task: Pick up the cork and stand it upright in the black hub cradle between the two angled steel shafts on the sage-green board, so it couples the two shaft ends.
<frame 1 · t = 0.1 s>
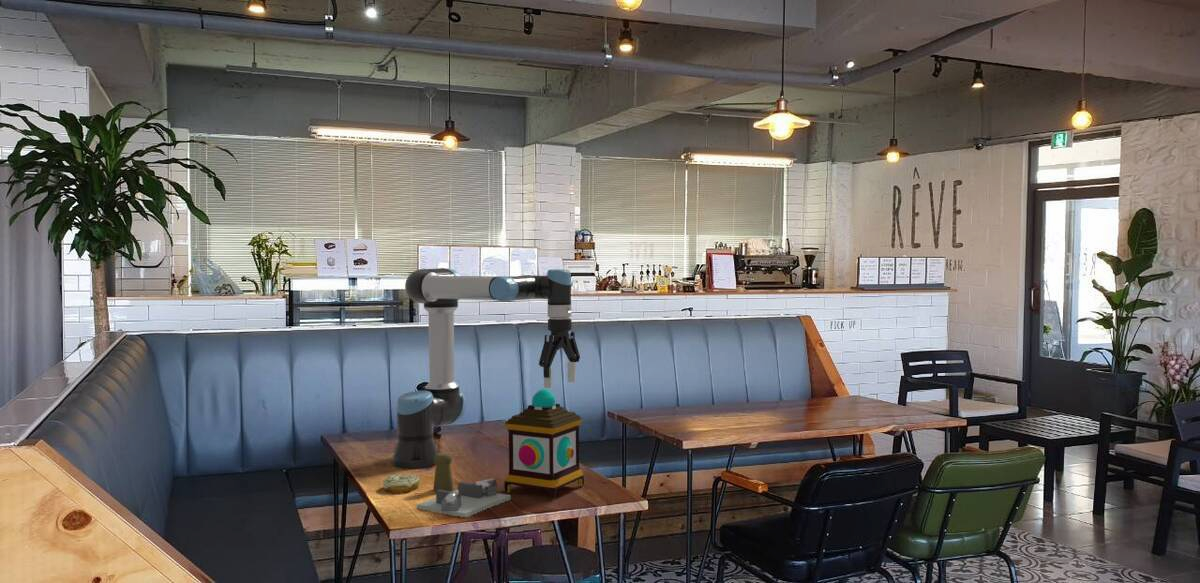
hand: (560, 385, 280), 28 cm above the table, tool pointing down, fingers open, 13 cm apart
shaft a: (485, 498, 252), resting on rig
cork: (443, 490, 262), on the table
shaft b: (451, 512, 239), resting on rig
decorative lantern: (544, 490, 261), on the table
rig: (464, 504, 247), on the table
decorated donut: (401, 489, 264), on the table
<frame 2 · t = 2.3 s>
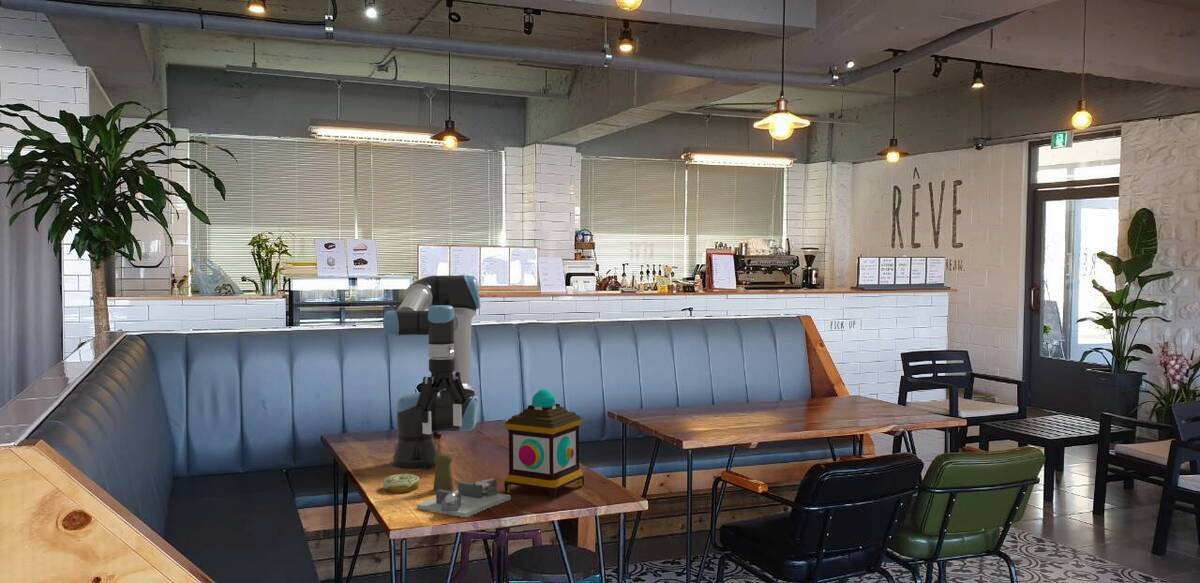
hand: (442, 429, 261), 18 cm above the table, tool pointing down, fingers open, 13 cm apart
nothing on the table moved.
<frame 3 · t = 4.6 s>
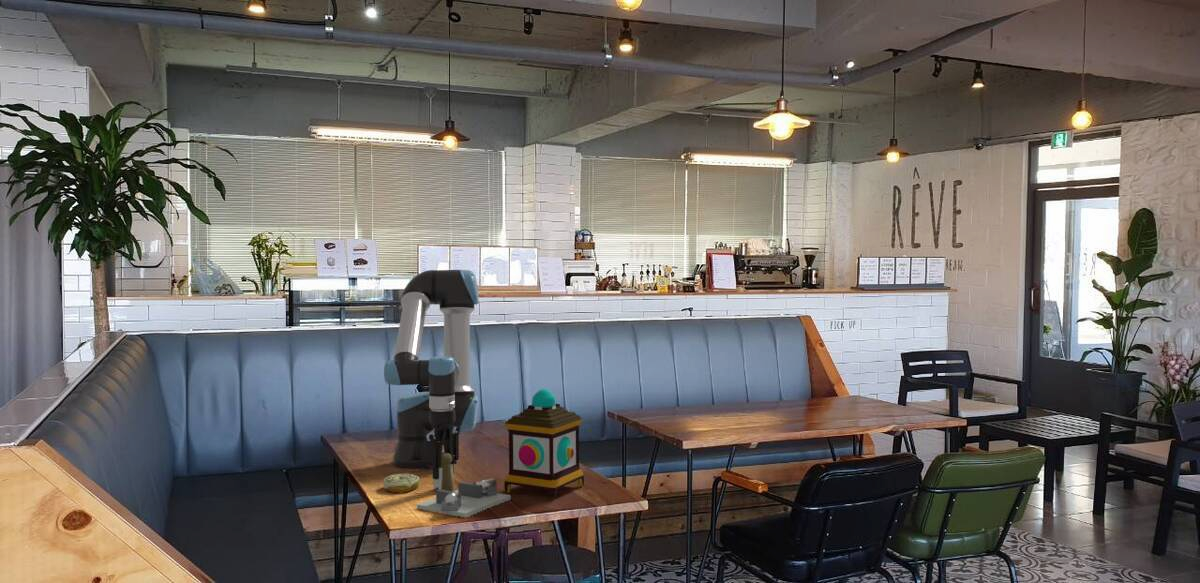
hand: (443, 487, 262), 1 cm above the table, tool pointing down, fingers closed on cork, 4 cm apart
cork: (443, 490, 262), on the table, touching gripper
everything else where it was.
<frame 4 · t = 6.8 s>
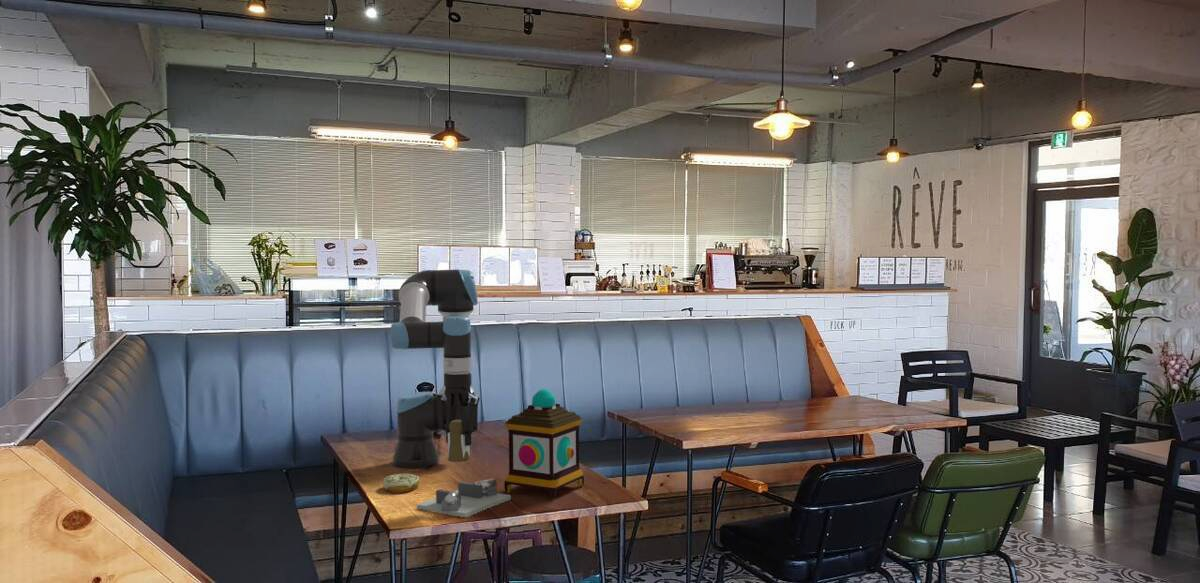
hand: (458, 455, 246), 14 cm above the table, tool pointing down, fingers closed on cork, 4 cm apart
cork: (459, 460, 246), point 13 cm above the table, touching gripper
everything else where it was.
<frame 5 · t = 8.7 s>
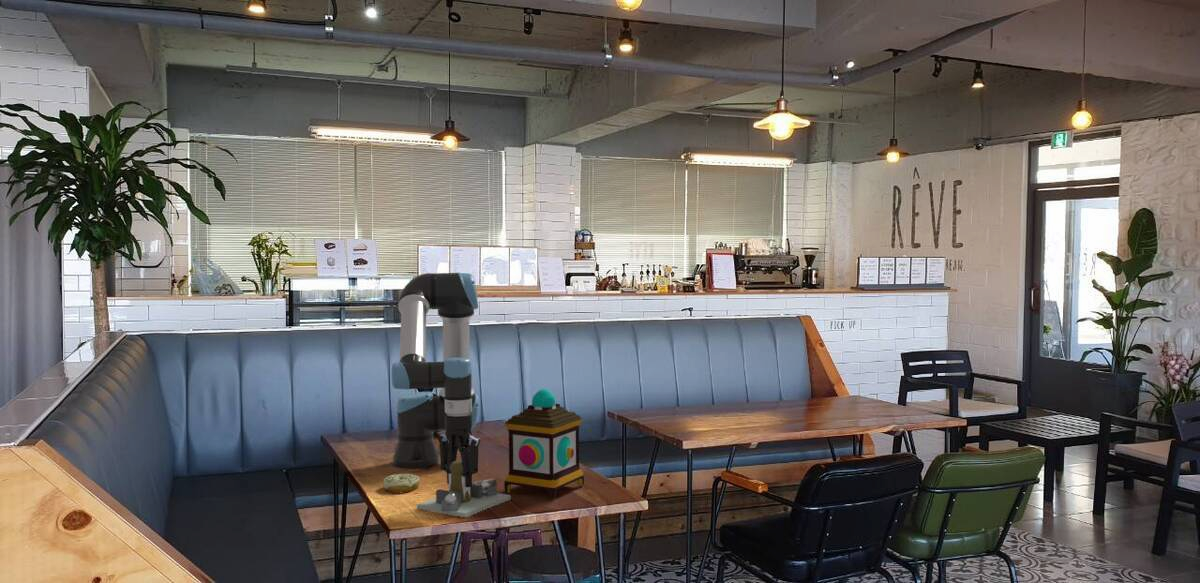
hand: (459, 496, 246), 2 cm above the table, tool pointing down, fingers closed on cork, 4 cm apart
cork: (459, 500, 246), point 1 cm above the table, touching gripper, rig
everything else where it was.
when the fingers open (2 cm above the table, at t = 8.7 s): cork stays where it is, resting on rig.
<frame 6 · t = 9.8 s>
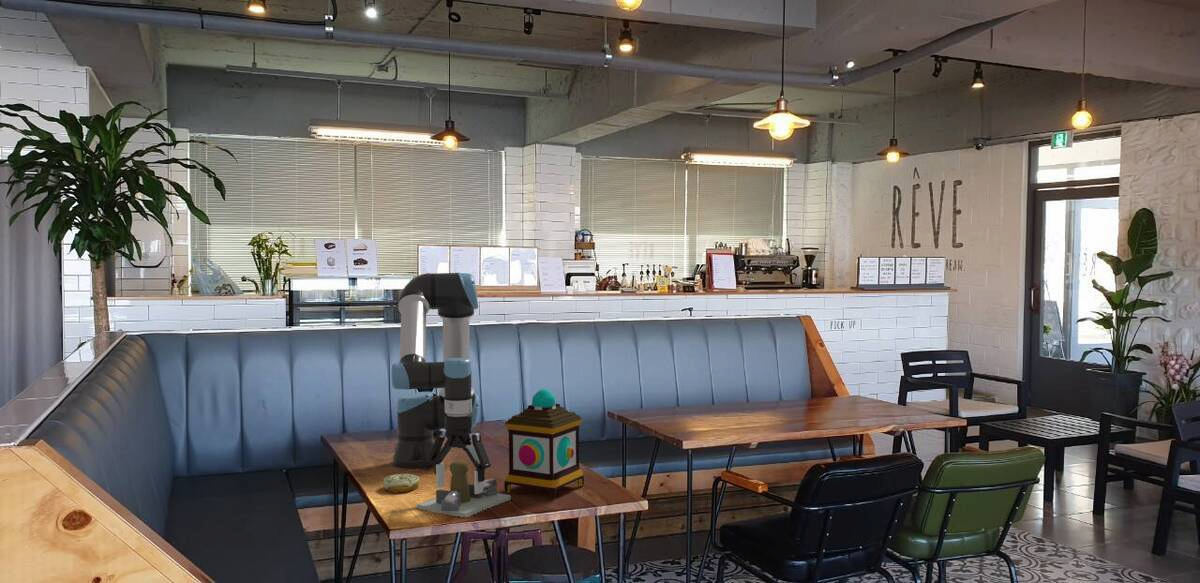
hand: (459, 489, 246), 4 cm above the table, tool pointing down, fingers open, 13 cm apart
cork: (459, 500, 246), point 1 cm above the table, touching rig
everything else where it was.
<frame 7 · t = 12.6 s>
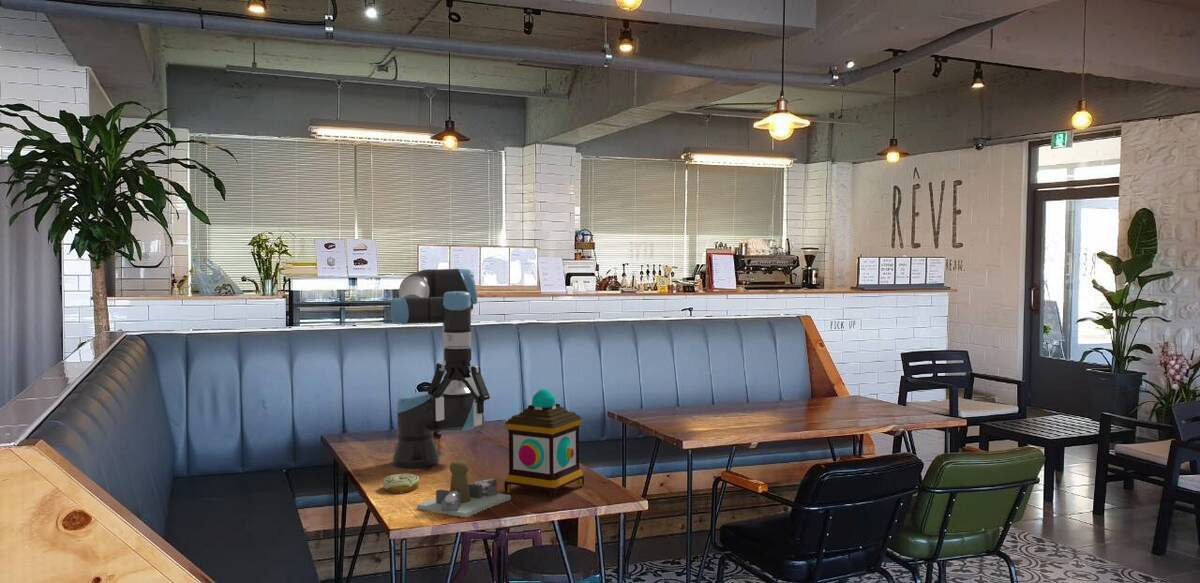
hand: (458, 422, 247), 23 cm above the table, tool pointing down, fingers open, 13 cm apart
nothing on the table moved.
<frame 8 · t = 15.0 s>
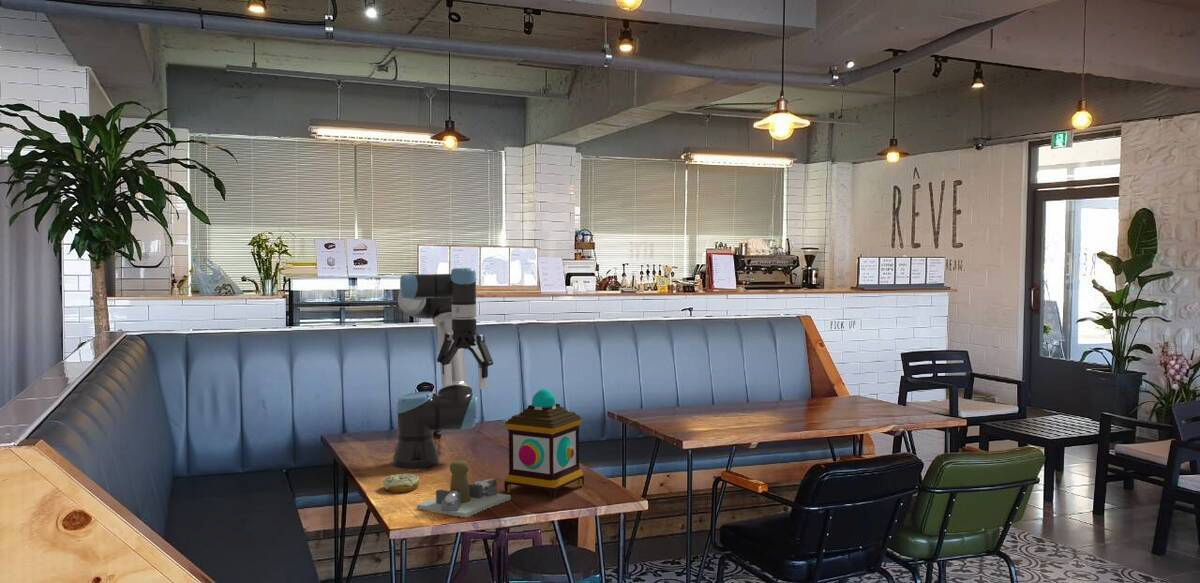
hand: (465, 387, 273), 29 cm above the table, tool pointing down, fingers open, 13 cm apart
nothing on the table moved.
at the end: cork 0.1 cm from the target spot on the rig, point 1.0 cm above the rig's base; cork tilted 0°; the gripper is holding nothing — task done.
